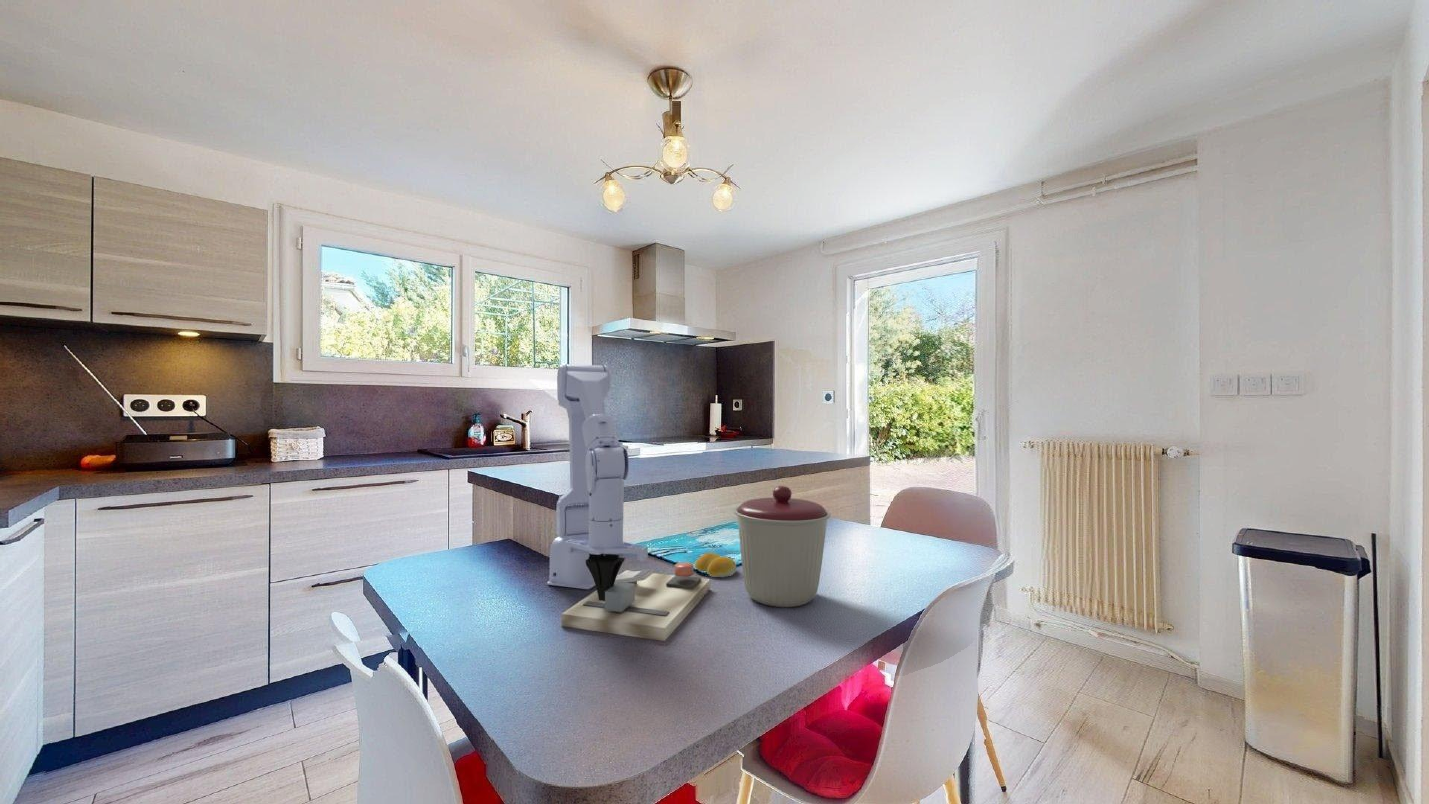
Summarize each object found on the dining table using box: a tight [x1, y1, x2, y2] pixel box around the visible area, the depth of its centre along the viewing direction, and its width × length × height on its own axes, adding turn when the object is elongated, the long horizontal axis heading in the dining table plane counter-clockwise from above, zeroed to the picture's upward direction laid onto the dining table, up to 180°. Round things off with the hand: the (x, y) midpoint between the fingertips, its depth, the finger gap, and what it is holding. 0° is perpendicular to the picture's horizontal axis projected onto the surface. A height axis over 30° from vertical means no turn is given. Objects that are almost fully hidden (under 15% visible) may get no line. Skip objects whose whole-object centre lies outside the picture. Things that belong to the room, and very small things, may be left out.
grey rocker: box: [614, 568, 654, 585], centre depth 100 cm, size 8×4×1 cm, turn 74°
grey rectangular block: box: [605, 582, 635, 612], centre depth 90 cm, size 3×5×3 cm, turn 164°
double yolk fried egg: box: [694, 552, 737, 577], centre depth 117 cm, size 8×9×4 cm
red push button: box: [674, 562, 695, 577], centre depth 103 cm, size 4×4×2 cm
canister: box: [733, 485, 832, 608], centre depth 102 cm, size 18×18×21 cm
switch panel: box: [560, 569, 711, 642], centre depth 96 cm, size 18×24×3 cm
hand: (605, 598), depth 91 cm, fingers closed
